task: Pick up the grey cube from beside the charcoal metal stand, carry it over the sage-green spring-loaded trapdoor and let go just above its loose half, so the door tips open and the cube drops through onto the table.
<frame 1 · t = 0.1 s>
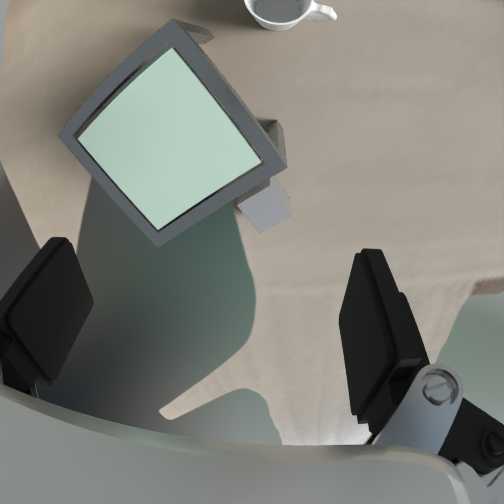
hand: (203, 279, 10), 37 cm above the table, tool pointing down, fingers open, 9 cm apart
trapdoor: (162, 145, 29), point 15 cm above the table, hinge at 0.0°
grey cube: (265, 191, 48), on the table
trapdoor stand: (197, 113, 41), on the table
mug: (289, 13, 32), on the table
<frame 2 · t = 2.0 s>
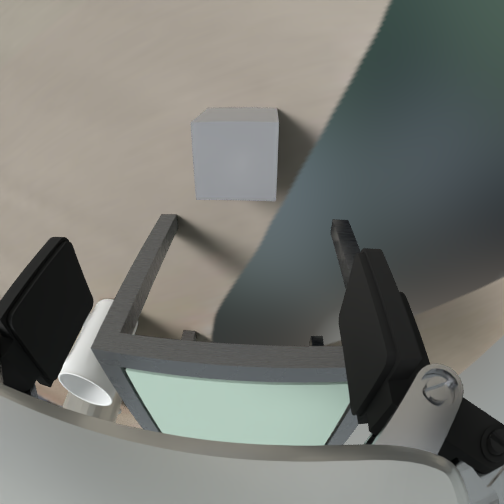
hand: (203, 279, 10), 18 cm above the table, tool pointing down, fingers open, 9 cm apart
trapdoor: (242, 422, 21), point 16 cm above the table, hinge at 0.0°
grey cube: (242, 139, 25), on the table
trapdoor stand: (253, 288, 34), on the table
mug: (107, 307, 38), on the table
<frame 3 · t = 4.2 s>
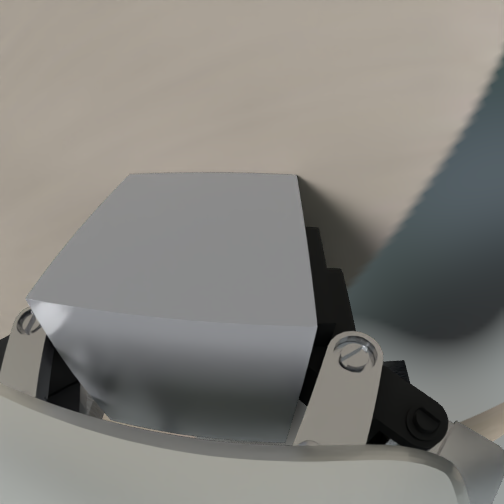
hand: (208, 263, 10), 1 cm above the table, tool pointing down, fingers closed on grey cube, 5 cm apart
grey cube: (213, 244, 11), on the table, touching gripper
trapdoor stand: (245, 424, 21), on the table
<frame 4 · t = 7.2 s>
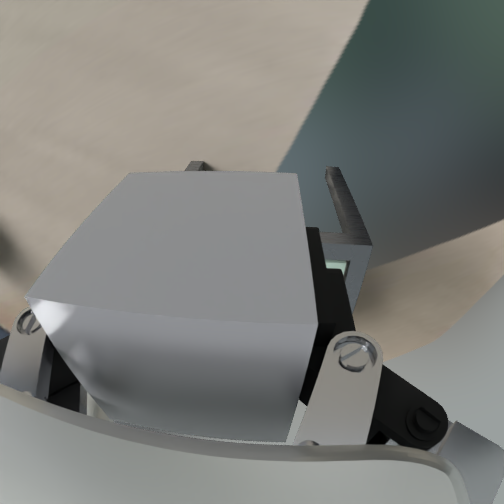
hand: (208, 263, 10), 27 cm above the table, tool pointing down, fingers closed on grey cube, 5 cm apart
trapdoor: (255, 315, 29), point 15 cm above the table, hinge at 0.0°
grey cube: (213, 243, 11), point 26 cm above the table, touching gripper
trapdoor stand: (262, 225, 41), on the table
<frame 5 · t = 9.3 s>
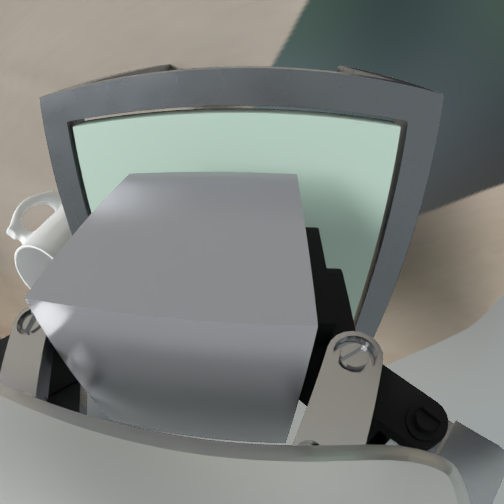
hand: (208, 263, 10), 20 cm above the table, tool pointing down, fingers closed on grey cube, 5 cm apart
trapdoor: (231, 252, 16), point 16 cm above the table, hinge at 0.0°
grey cube: (213, 243, 11), point 19 cm above the table, touching gripper
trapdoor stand: (252, 153, 28), on the table
mug: (87, 199, 32), on the table
when the fingers open (20 cm above the table, at t = 10.2 s): grey cube drops 16 cm and tips over, point 3 cm above the table.
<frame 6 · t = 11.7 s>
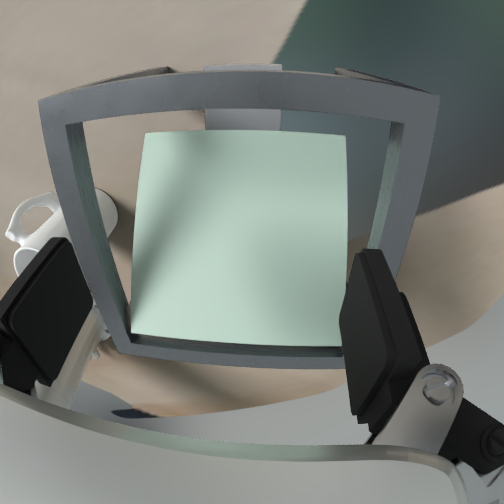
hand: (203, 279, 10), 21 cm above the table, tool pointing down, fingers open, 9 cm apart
trapdoor: (237, 233, 20), point 11 cm above the table, hinge at -38.9°
grey cube: (245, 134, 25), point 3 cm above the table, tilted 90°
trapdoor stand: (249, 154, 28), on the table
mug: (86, 201, 32), on the table
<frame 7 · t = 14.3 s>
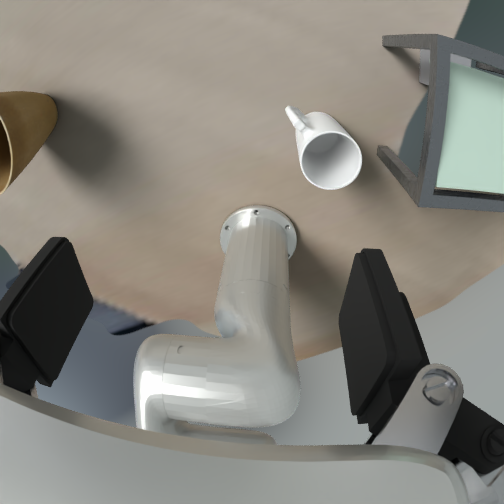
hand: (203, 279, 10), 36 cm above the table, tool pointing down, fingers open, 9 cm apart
trapdoor: (484, 130, 25), point 13 cm above the table, hinge at -17.4°
grey cube: (443, 88, 32), point 3 cm above the table, tilted 90°
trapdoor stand: (434, 102, 36), on the table
plant pot: (43, 115, 40), on the table
mug: (309, 123, 41), on the table
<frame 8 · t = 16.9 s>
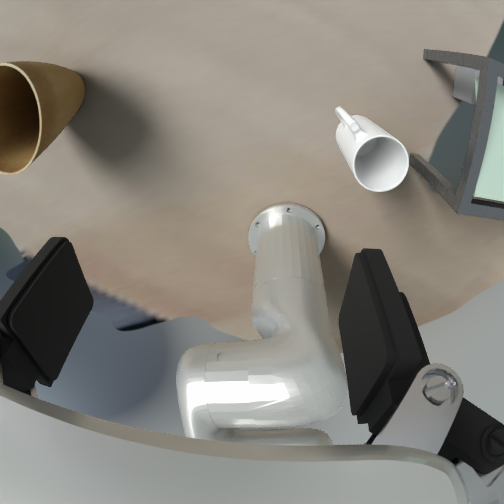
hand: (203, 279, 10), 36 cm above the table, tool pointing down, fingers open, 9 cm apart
grey cube: (475, 104, 33), point 3 cm above the table, tilted 90°
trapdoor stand: (464, 116, 36), on the table
plant pot: (68, 93, 38), on the table
mug: (349, 126, 40), on the table
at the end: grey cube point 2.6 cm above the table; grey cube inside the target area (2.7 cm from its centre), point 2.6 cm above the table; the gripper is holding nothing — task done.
